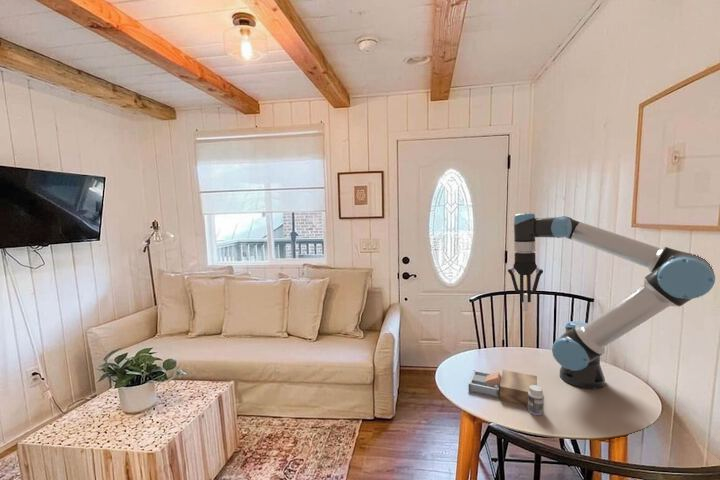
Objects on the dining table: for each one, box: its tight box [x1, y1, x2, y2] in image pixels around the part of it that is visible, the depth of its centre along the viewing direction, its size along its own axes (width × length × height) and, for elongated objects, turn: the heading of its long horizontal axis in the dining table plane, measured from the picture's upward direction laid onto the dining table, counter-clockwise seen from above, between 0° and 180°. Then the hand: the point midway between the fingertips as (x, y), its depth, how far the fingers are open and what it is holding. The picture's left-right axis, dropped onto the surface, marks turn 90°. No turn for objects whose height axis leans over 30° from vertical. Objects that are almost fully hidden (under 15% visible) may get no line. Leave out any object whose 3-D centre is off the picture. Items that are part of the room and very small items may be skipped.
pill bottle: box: [527, 384, 545, 416], centre depth 113 cm, size 5×5×8 cm
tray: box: [468, 370, 500, 398], centre depth 130 cm, size 11×12×3 cm
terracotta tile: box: [485, 371, 502, 387], centre depth 128 cm, size 5×5×2 cm
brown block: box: [499, 369, 538, 406], centre depth 124 cm, size 12×14×5 cm
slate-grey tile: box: [472, 374, 487, 386], centre depth 131 cm, size 5×5×2 cm
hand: (525, 309), depth 135 cm, fingers closed
